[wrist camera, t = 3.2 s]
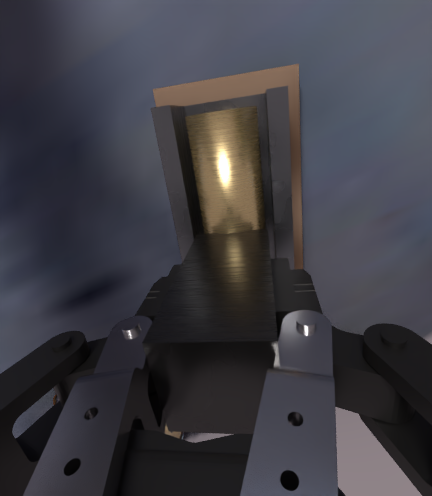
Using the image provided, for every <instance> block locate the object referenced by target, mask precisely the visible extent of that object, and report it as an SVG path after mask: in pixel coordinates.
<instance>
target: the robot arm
mask: <svg viewBox="0 0 432 496" xmlns="http://www.w3.org/2000/svg"><path fill="white" fill-rule="evenodd" d="M180 267H181V265H174V266H173V268H172V270H171V271H170V273H169V275H168V277H162V278H161V279H159V280H158V281H157V282H156V283H154V285H153V286H152V288H151V290H150V292H149V293H148V295H147V296H146V299H145V300H144V301H143V303H142V305H141V306H140V308H139V310H138V311H137V313H136V314H135V316H133V317H129V318H126V319H124V320H122V321H120V322H119V323H117V324H116V325H115V326H114V327H113V328H112V330H111V331H110V334H109V336H108V337H106V338H102V339H98V340H94V341H90V342H87V341H86V338H85V336H84V334H83V333H82V332H80V331H69V332H65V333H62V334H59V335H57V336H55V337H53V338H52V339H50V340H48V341H47V342H46V343H44V344H43V345H41V346H40V347H38V348H37V349H36V350H34V351H33V352H31V353H30V354H28V355H27V356H26V357H24V358H23V359H21V360H20V361H18V362H17V363H16V364H14V365H13V366H11V367H10V368H8V369H7V370H5V371H4V372H3V373H1V374H0V496H345V494H344V493H343V492H342V491H341V490H340V489H339V488H338V482H337V481H338V480H337V448H336V418H335V407H339V408H342V409H345V410H348V411H352V412H355V413H358V414H359V415H360V417H361V419H362V421H363V422H364V423H365V425H366V426H367V427H368V428H369V430H370V431H371V432H372V433H373V435H374V436H375V437H376V438H377V440H378V441H379V442H380V443H381V445H382V446H383V447H384V448H385V450H386V451H387V452H388V453H389V455H390V456H391V457H392V458H393V459H394V461H395V462H396V463H397V465H398V466H399V467H400V468H401V469H402V471H403V472H404V473H405V475H406V476H407V477H408V478H409V480H410V481H411V482H412V483H413V485H414V486H415V487H416V488H417V490H418V491H419V492H420V493H421V495H422V496H432V344H430V343H429V342H427V341H426V340H425V339H423V338H422V337H420V336H419V335H417V334H416V333H414V332H413V331H411V330H409V329H407V328H405V327H402V326H398V325H394V324H376V325H372V326H370V327H369V328H367V329H366V330H365V332H364V335H359V334H354V333H349V332H345V331H342V330H339V329H337V328H335V327H333V326H332V325H331V322H330V321H329V319H328V318H327V317H326V316H324V315H323V313H322V310H321V307H320V304H319V301H318V298H317V295H316V292H315V289H314V285H313V282H312V279H311V276H310V275H309V274H308V273H307V272H306V271H304V270H303V269H294V270H290V265H289V261H288V258H276V259H271V268H272V279H273V291H274V302H275V314H276V325H277V337H278V350H279V355H276V356H275V361H274V366H273V367H269V368H268V371H267V374H266V379H265V383H264V388H263V392H262V397H261V402H260V406H259V411H258V415H257V420H256V425H255V429H254V434H239V433H238V434H234V435H229V436H225V437H220V438H216V439H211V440H207V441H202V442H198V443H192V442H188V441H185V440H182V439H179V438H176V437H174V436H171V435H168V434H165V426H166V420H165V417H164V414H163V411H162V408H161V405H160V401H159V398H158V395H157V392H156V388H155V385H154V382H153V378H152V375H151V372H150V368H149V364H148V361H147V358H146V355H145V352H144V349H143V345H142V342H143V340H144V338H145V336H146V334H147V332H148V330H149V328H150V326H151V324H152V322H153V320H154V318H155V316H156V314H157V312H158V310H159V308H160V306H161V304H162V302H163V300H164V298H165V296H166V294H167V292H168V290H169V288H170V286H171V284H172V282H173V280H174V278H175V276H176V275H177V273H178V271H179V269H180ZM52 388H54V390H55V392H56V394H57V396H58V398H59V400H60V401H58V402H57V403H56V404H55V405H54V406H53V407H52V408H51V409H49V410H48V411H47V412H46V413H45V414H44V415H43V416H42V417H40V418H39V419H38V420H37V421H36V422H35V423H34V424H33V425H32V426H30V427H29V428H28V429H27V430H26V431H25V432H24V433H23V434H21V435H20V436H19V437H18V438H16V439H15V438H14V436H13V434H12V428H13V425H14V423H15V421H16V420H17V418H18V417H19V416H20V415H21V414H22V413H23V412H25V411H26V410H27V409H28V408H29V407H31V406H32V405H33V404H34V403H35V402H37V401H38V400H39V399H40V398H41V397H42V396H44V395H45V394H46V393H47V392H48V391H50V390H51V389H52Z"/></svg>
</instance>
